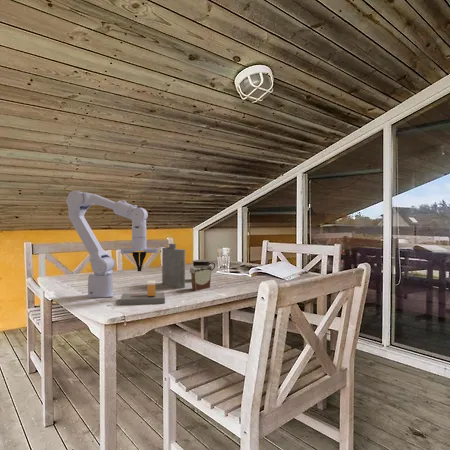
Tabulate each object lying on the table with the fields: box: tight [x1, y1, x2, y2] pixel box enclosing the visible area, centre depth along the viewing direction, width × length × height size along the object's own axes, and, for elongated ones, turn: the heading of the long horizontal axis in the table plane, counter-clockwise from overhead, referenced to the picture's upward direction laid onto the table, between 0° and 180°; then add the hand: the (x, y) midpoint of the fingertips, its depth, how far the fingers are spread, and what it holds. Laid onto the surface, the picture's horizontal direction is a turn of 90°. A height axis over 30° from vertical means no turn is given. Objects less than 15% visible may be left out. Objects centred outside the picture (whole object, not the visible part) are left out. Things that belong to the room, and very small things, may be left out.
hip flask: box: [161, 243, 186, 289], centre depth 165 cm, size 16×4×20 cm, turn 44°
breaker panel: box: [120, 291, 166, 306], centre depth 134 cm, size 16×10×2 cm, turn 102°
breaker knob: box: [146, 280, 157, 296], centre depth 135 cm, size 3×5×5 cm, turn 12°
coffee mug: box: [192, 259, 216, 271], centre depth 182 cm, size 12×9×10 cm
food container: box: [189, 265, 213, 292], centre depth 159 cm, size 12×6×10 cm, turn 141°
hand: (139, 271), depth 142 cm, fingers closed
